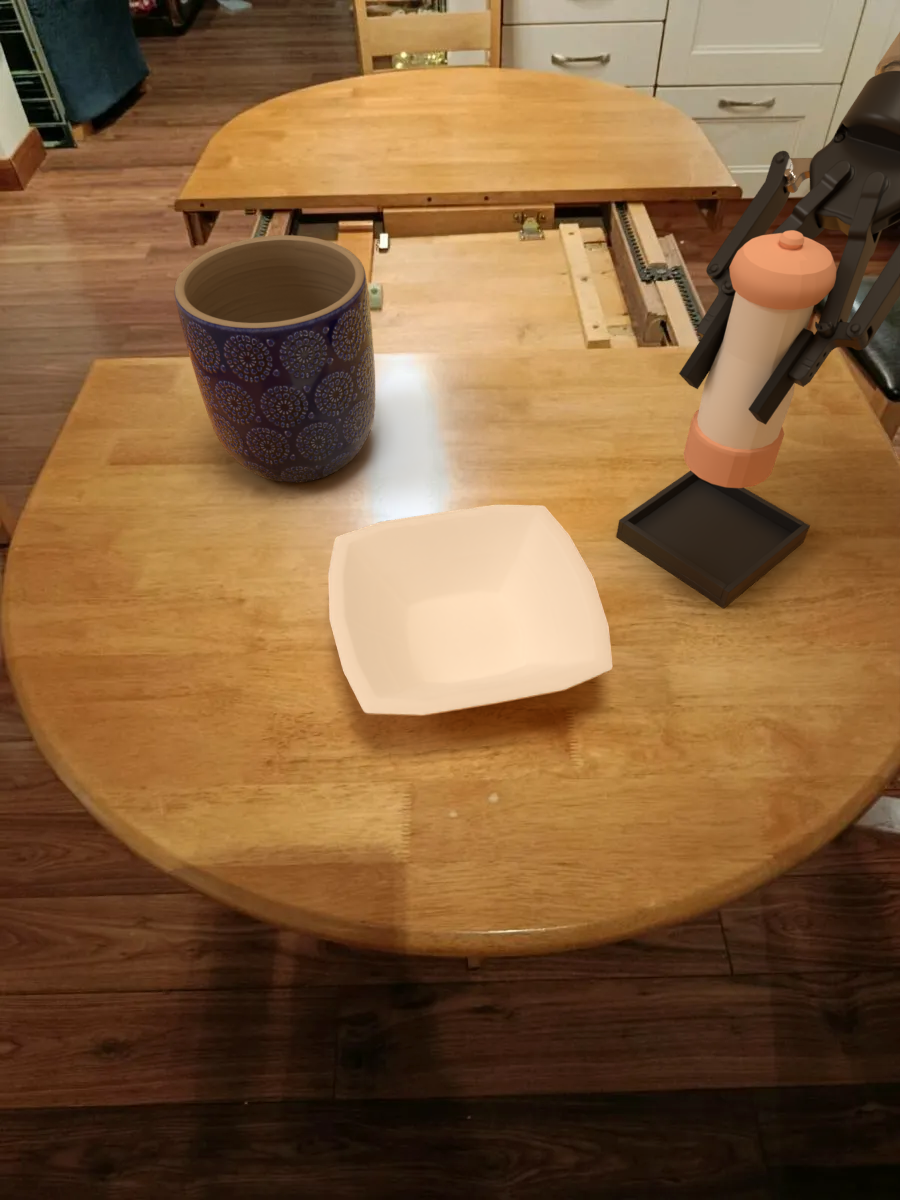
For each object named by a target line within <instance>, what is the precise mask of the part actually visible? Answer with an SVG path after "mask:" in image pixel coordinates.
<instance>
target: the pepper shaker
mask: <svg viewBox="0 0 900 1200" xmlns="http://www.w3.org/2000/svg"><path fill="white" fill-rule="evenodd" d="M729 269H730V277H731V282H732V285H733V289H734V290H735V291H736V293H735V296H734V300H733V304H732V308H731V312H730V316H729V320H728V323H727V327H726V331H725V335H724V339H723V342H722V344H721V346H720V348H719V351H718V353H717V355H716V358H715V360H714V362H713V365H712V367H711V369H710V371H709V373H708V374H707V376H706V377H705V381H704V384H703V388H702V392H701V398H700V404H699V408H698V409H697V410H696V411H695V412H694V414H693V416H692V418H691V421H690V425H689V429H688V433H687V436H686V442H685V445H684V450H683V458H684V459H683V460H684V463H685V464H686V466H687V468H688V469H689V471H690V470H691V471H692V472H693V473H694V474H695V475H697V476H698V477H699V478H701V479H703V480H705V481H707V482H709V483H711V484H715V485H719V486H723V487H729V488H749V487H755V486H757V485H759V484H761V483H764V482H766V480H767V479H768V478H769V477H770V476H771V475H772V472H773V469H774V468H775V467H774V466H775V464H776V460H777V458H778V455H779V452H780V449H781V447H782V443H783V440H784V436H785V432H784V428H783V426H784V422H785V419H786V417H787V414H788V412H789V409H790V406H791V404H792V401H793V398H794V394H795V386H796V383H794V384H793V386H792V387H791V389H790V390H789V391H788V393H787V394H786V396H785V397H784V399H783V400H782V402H781V403H780V405H779V406H778V408H777V409H776V410H775V412H774V413H773V415H772V416H771V418H770V419H769V421H768V422H767V424H766V425H765V424H764V423H762V422H760V421H758V420H757V419H756V418H755V417H754V416H753V414H752V413H751V412H750V411H749V407H750V406H751V405H752V403H753V402H754V400H755V399H756V397H757V396H758V394H759V393H760V391H761V390H762V388H763V387H764V385H765V384H766V382H767V381H768V379H769V378H770V376H771V375H772V373H773V372H774V370H775V369H776V367H777V366H778V364H779V363H780V361H781V360H782V359H783V357H784V356H785V354H786V353H787V351H788V350H789V348H790V347H791V345H792V344H793V342H794V341H795V339H796V338H797V336H798V335H799V333H800V332H801V331H802V329H803V328H805V329H807V330H808V326H809V323H810V320H811V317H812V314H813V310H814V308H815V306H816V305H818V304H819V303H820V302H821V301H822V300H824V298H826V297H827V296H828V294H829V292H830V291H831V289H832V288H833V287H834V284H835V280H836V272H837V269H838V267H837V265H836V263H835V260H834V257H833V254H832V252H831V251H830V249H828V248H827V247H826V246H825V245H823V244H821V243H819V242H818V241H815V240H814V239H809V238H807V237H804V236H803V234H802V233H800V232H798V231H794V230H790V231H785V232H784V233H777V234H772V233H770V234H764V235H762V236H759V237H756V238H752V239H751V240H750V241H748V242H747V243H746V244H744V245H743V246H742V247H741V248H740V249H739V250H738V251H737V253H736V255H735V257H734V259H733V260H732V263H731V265H730V267H729Z"/></svg>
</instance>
